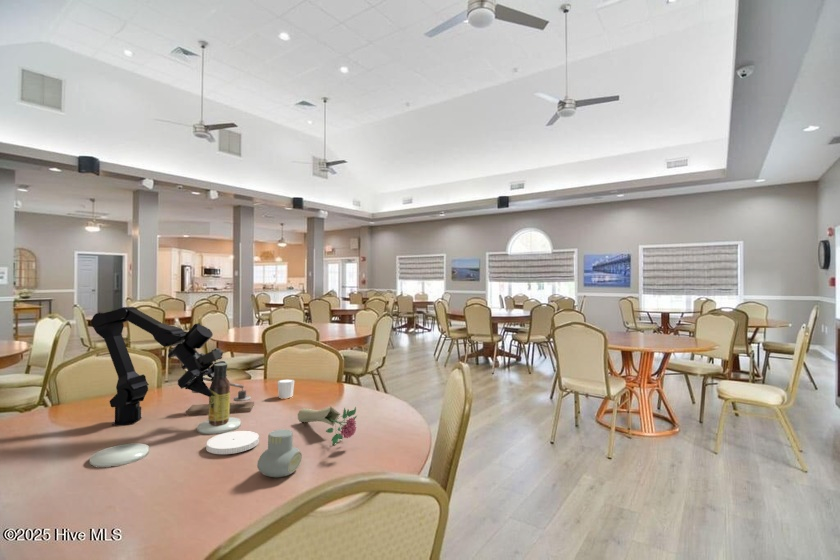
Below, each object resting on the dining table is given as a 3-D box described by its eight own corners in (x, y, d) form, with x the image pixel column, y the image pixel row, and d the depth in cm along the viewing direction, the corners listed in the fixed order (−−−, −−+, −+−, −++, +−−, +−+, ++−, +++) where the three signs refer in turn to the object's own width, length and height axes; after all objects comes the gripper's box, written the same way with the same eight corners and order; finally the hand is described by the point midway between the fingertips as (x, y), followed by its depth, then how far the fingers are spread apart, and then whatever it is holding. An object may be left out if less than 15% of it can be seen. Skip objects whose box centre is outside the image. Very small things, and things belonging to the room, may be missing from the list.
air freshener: (284, 484, 97) (284, 442, 97) (252, 481, 98) (253, 439, 98) (304, 464, 107) (305, 426, 108) (276, 462, 109) (276, 424, 109)
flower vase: (315, 443, 141) (373, 450, 116) (282, 440, 134) (337, 447, 109) (321, 408, 146) (378, 407, 121) (289, 403, 138) (344, 402, 113)
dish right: (191, 435, 127) (191, 431, 127) (203, 422, 140) (203, 418, 140) (236, 432, 130) (236, 428, 130) (244, 419, 143) (244, 416, 143)
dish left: (78, 469, 103) (78, 464, 103) (105, 449, 116) (105, 445, 116) (136, 465, 106) (136, 460, 106) (156, 445, 119) (156, 441, 119)
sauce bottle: (208, 421, 136) (209, 362, 137) (228, 419, 139) (229, 361, 140) (208, 427, 131) (210, 366, 131) (230, 424, 134) (231, 364, 134)
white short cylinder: (289, 400, 168) (289, 383, 168) (273, 399, 169) (274, 382, 169) (297, 395, 174) (297, 379, 174) (282, 394, 176) (283, 378, 176)
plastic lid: (205, 461, 109) (206, 452, 109) (206, 443, 122) (206, 435, 122) (261, 452, 116) (261, 443, 116) (256, 436, 128) (256, 428, 128)
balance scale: (185, 415, 147) (186, 379, 147) (192, 408, 154) (193, 374, 155) (250, 411, 152) (251, 377, 152) (254, 405, 159) (254, 372, 160)
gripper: (187, 345, 127) (219, 382, 125) (223, 338, 145) (251, 370, 144) (163, 369, 127) (195, 406, 126) (202, 359, 146) (230, 391, 144)
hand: (219, 392), depth 135 cm, fingers open, 9 cm apart
